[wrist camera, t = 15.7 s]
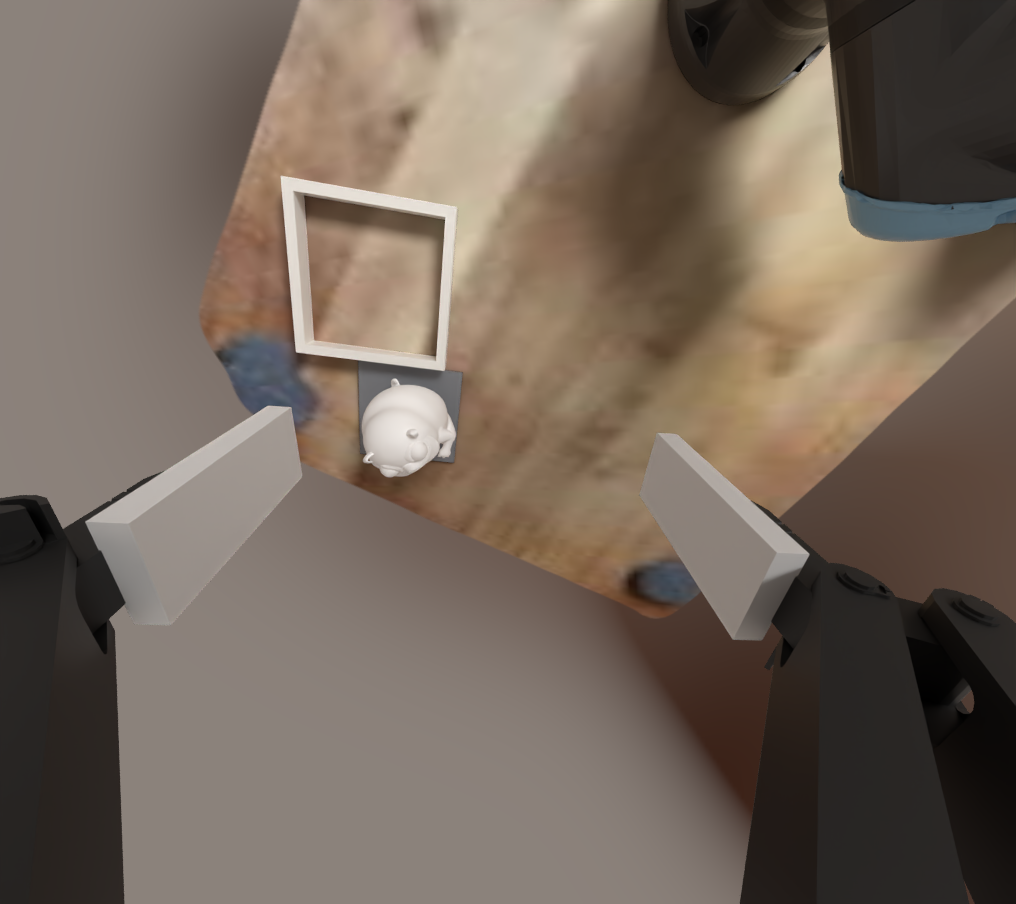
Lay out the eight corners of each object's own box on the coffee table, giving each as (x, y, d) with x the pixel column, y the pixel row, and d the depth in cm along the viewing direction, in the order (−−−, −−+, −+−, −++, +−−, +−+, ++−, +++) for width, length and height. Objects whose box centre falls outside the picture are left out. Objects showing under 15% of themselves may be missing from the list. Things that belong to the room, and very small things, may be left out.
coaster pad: (359, 359, 45) (358, 360, 44) (462, 372, 46) (462, 373, 46) (361, 451, 50) (360, 453, 49) (454, 460, 51) (453, 462, 51)
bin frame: (292, 181, 37) (280, 175, 35) (458, 210, 39) (456, 206, 37) (305, 348, 44) (295, 352, 42) (446, 365, 46) (444, 371, 43)
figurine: (356, 389, 46) (318, 426, 35) (432, 360, 45) (417, 389, 34) (394, 458, 50) (370, 511, 39) (464, 434, 49) (460, 480, 38)
